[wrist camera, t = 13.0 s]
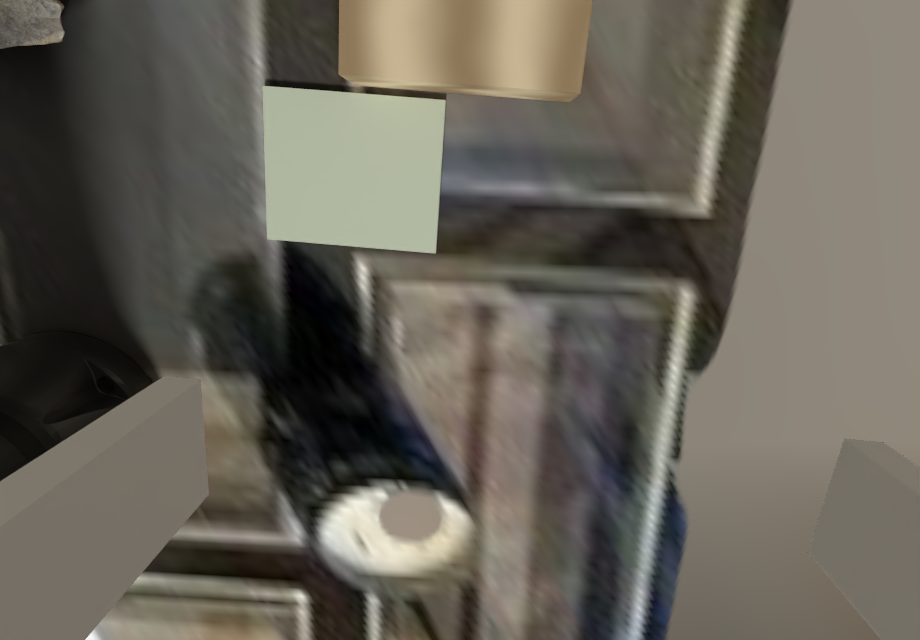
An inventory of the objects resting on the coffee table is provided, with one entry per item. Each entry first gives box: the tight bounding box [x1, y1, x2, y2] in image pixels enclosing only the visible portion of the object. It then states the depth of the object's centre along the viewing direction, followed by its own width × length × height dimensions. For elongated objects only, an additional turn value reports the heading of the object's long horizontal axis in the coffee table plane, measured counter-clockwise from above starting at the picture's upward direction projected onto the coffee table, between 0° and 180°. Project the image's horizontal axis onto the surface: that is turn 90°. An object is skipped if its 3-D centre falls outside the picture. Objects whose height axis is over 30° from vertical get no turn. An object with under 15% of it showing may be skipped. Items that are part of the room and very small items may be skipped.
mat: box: [263, 86, 446, 253], centre depth 35 cm, size 12×10×1 cm
